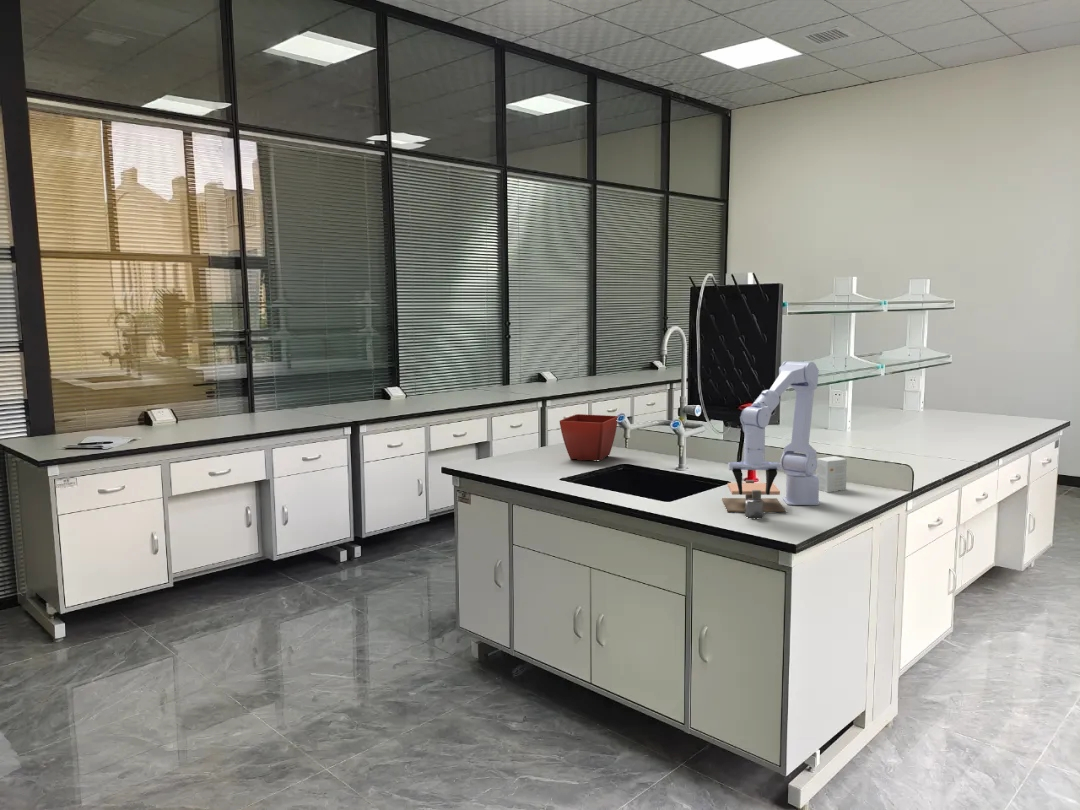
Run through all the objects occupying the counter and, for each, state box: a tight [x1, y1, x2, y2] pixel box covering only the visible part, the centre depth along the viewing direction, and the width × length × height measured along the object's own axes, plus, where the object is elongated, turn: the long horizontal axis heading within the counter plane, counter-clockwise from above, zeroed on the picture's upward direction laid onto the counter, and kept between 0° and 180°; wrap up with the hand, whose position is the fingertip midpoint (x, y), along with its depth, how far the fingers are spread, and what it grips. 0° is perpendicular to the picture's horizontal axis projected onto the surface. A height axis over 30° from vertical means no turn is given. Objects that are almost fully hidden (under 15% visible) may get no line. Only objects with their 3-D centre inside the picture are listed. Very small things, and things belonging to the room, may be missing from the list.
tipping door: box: [727, 482, 781, 496], centre depth 236 cm, size 14×12×1 cm
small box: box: [815, 455, 848, 493], centre depth 254 cm, size 8×6×10 cm
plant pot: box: [559, 413, 619, 461], centre depth 317 cm, size 19×19×17 cm
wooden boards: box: [721, 479, 787, 513], centre depth 236 cm, size 17×15×6 cm
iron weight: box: [744, 498, 764, 520], centre depth 224 cm, size 5×5×5 cm
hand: (753, 494), depth 224 cm, fingers open, 7 cm apart
